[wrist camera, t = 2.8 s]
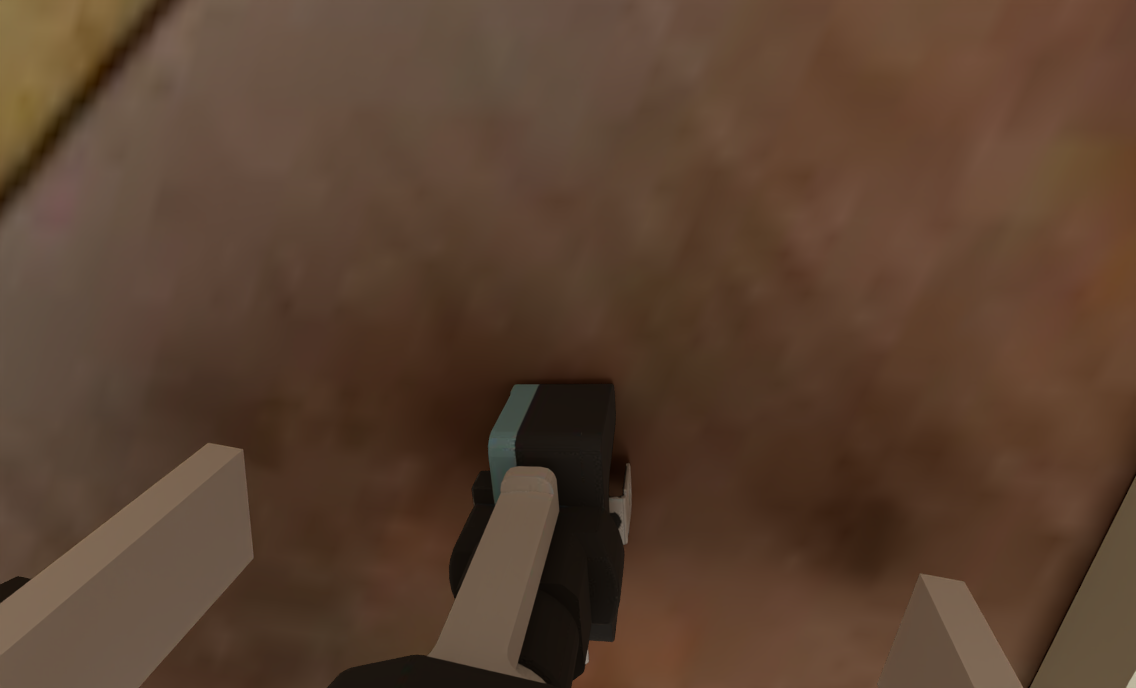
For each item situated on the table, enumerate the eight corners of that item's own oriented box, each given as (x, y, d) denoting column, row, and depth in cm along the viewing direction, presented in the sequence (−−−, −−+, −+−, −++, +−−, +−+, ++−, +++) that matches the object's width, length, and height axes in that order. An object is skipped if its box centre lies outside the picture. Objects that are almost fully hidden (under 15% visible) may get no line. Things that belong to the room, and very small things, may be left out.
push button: (687, 620, 16) (700, 1343, 7) (472, 608, 17) (230, 1234, 8) (684, 363, 14) (698, 939, 5) (435, 365, 15) (23, 852, 5)
